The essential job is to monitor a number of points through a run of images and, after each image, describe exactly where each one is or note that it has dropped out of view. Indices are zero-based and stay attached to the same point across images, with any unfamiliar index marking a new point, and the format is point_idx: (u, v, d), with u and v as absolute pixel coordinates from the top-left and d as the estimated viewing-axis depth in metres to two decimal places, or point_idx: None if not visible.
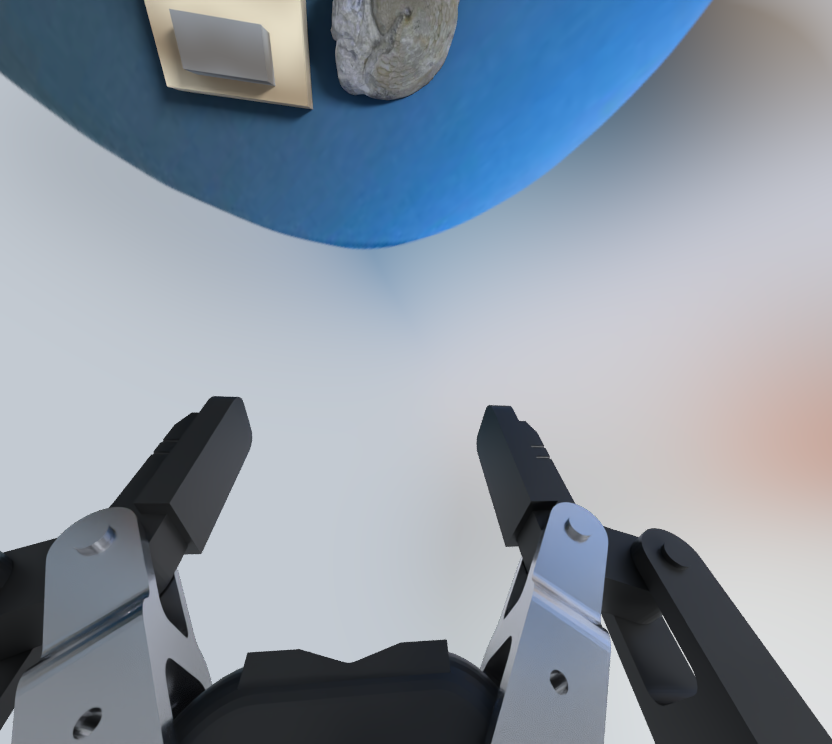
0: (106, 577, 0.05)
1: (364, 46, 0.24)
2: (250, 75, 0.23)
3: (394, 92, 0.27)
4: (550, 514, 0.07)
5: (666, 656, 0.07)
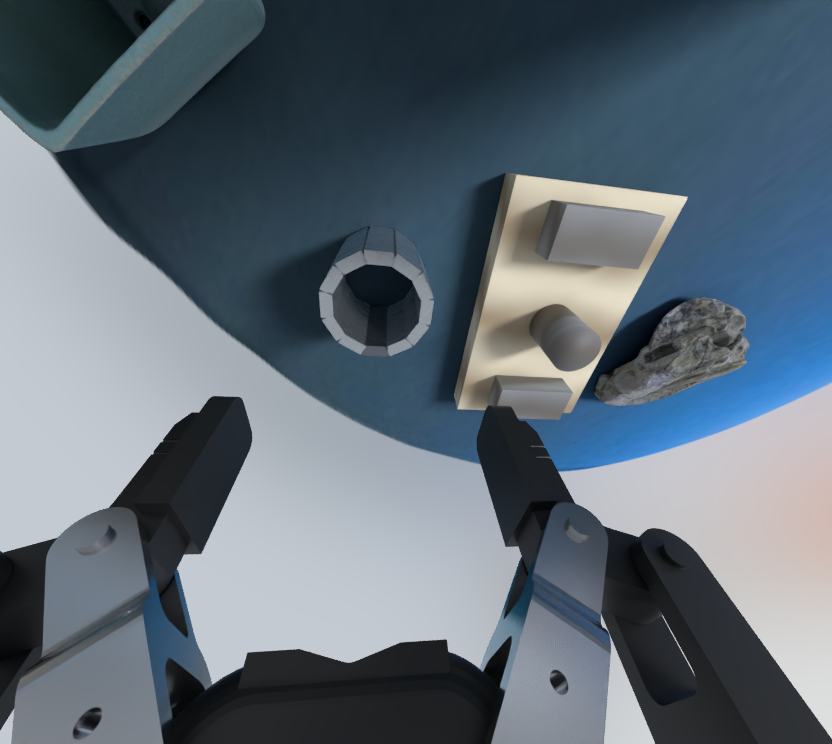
0: (106, 577, 0.05)
1: (643, 395, 0.27)
2: (546, 417, 0.26)
3: None
4: (550, 514, 0.07)
5: (666, 656, 0.07)
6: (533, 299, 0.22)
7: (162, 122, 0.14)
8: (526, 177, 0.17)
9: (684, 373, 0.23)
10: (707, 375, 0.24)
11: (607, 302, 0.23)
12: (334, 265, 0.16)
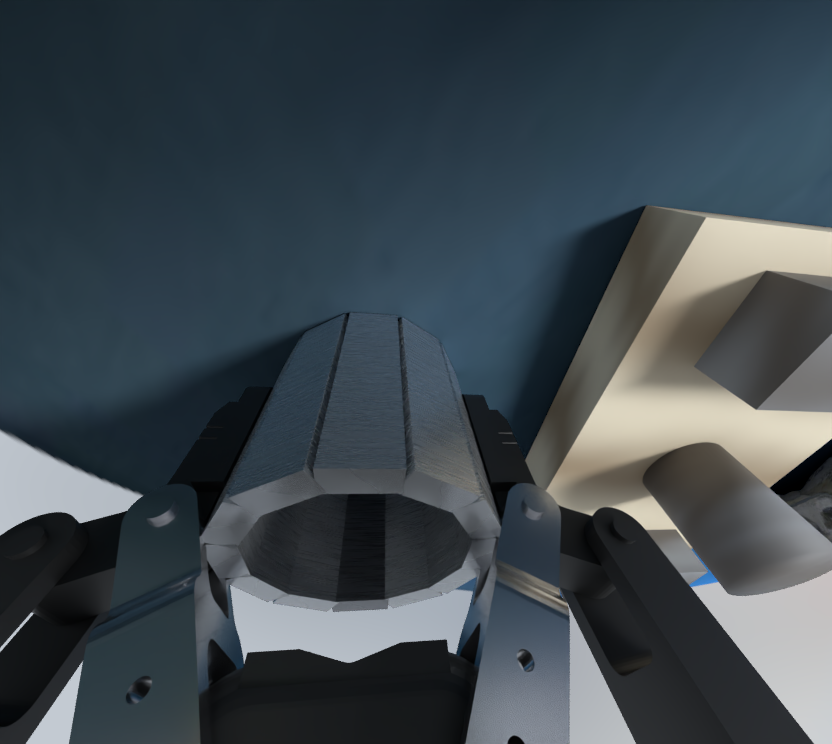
0: (177, 544, 0.06)
1: None
2: None
3: None
4: (508, 493, 0.07)
5: (623, 625, 0.07)
6: (665, 438, 0.12)
7: None
8: (727, 223, 0.07)
9: None
10: None
11: (796, 436, 0.12)
12: None
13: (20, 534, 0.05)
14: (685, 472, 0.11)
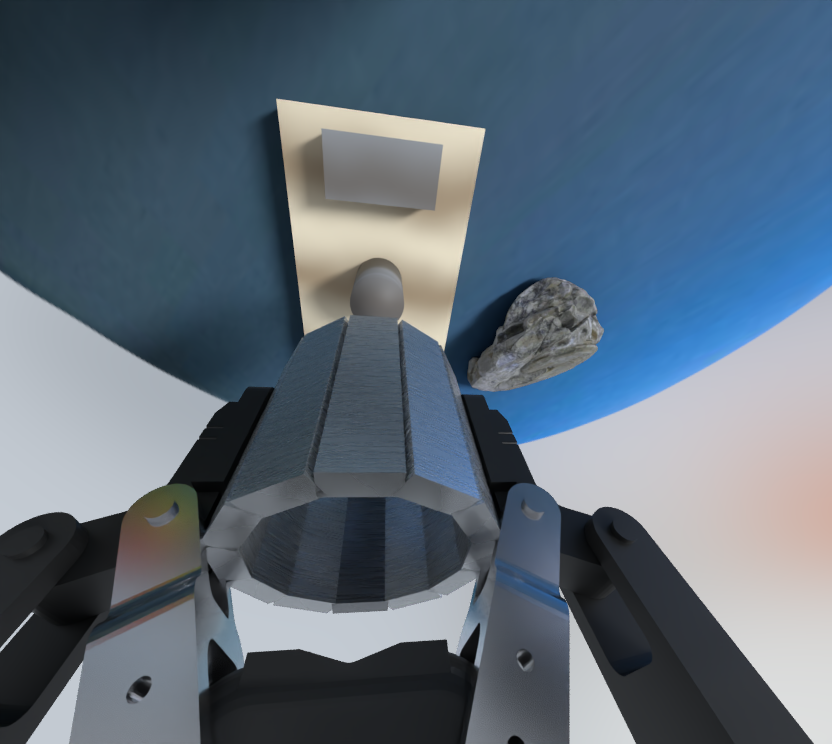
0: (177, 544, 0.06)
1: (504, 379, 0.26)
2: None
3: None
4: (508, 493, 0.07)
5: (623, 625, 0.07)
6: (349, 252, 0.20)
7: None
8: (288, 102, 0.16)
9: (527, 353, 0.22)
10: (552, 357, 0.23)
11: (435, 256, 0.21)
12: None
13: (20, 534, 0.05)
14: (359, 270, 0.20)
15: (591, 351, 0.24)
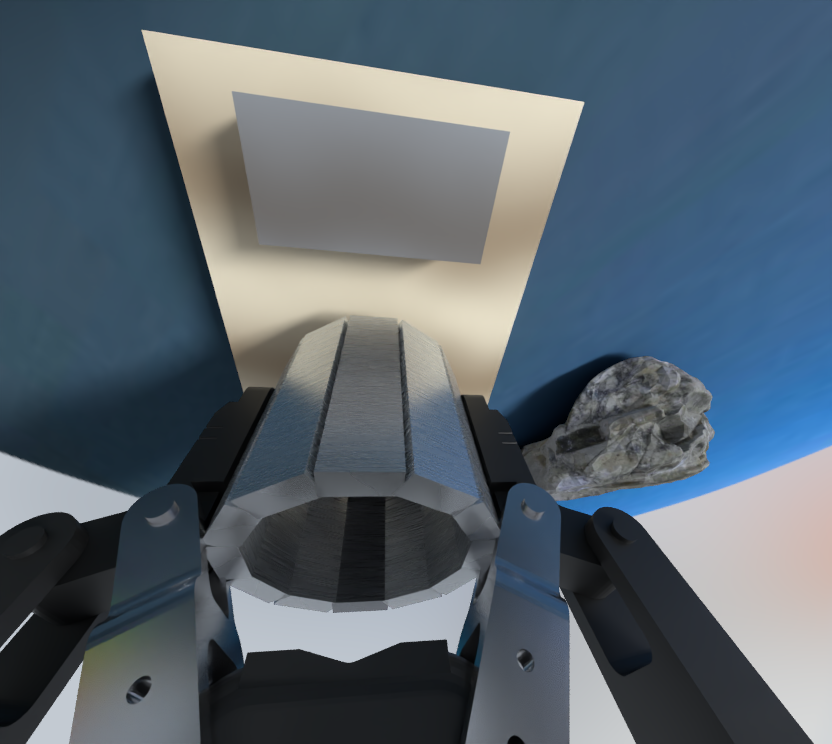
0: (177, 544, 0.06)
1: None
2: None
3: None
4: (508, 493, 0.07)
5: (623, 625, 0.07)
6: (322, 322, 0.12)
7: None
8: (170, 38, 0.07)
9: (610, 480, 0.14)
10: (647, 485, 0.15)
11: (468, 326, 0.12)
12: None
13: (20, 534, 0.05)
14: None
15: None
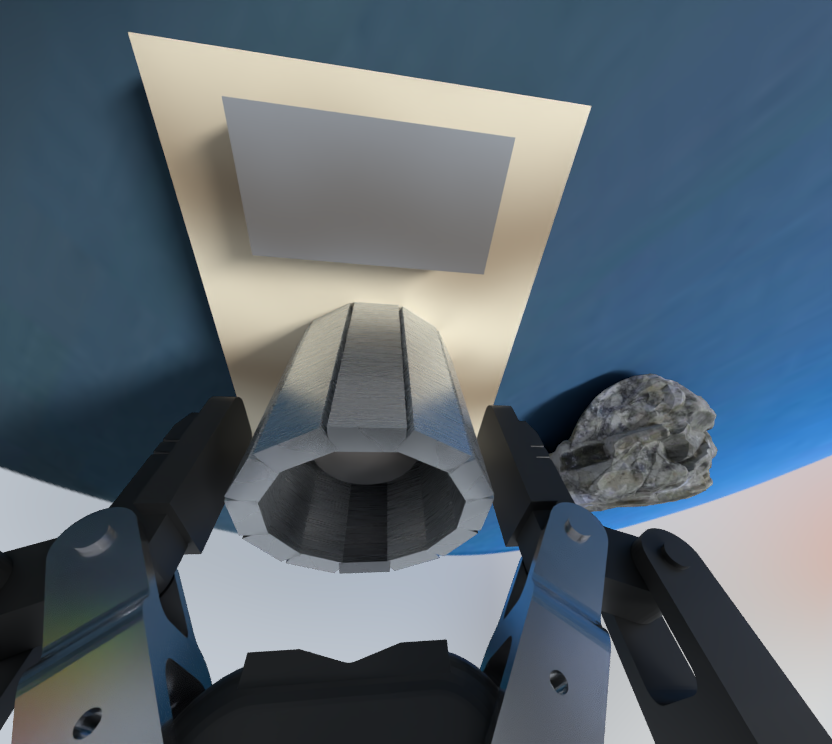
0: (106, 577, 0.05)
1: None
2: None
3: None
4: (550, 514, 0.07)
5: (666, 656, 0.07)
6: None
7: None
8: (158, 40, 0.07)
9: (615, 499, 0.14)
10: (651, 503, 0.14)
11: (470, 336, 0.12)
12: None
13: None
14: None
15: None
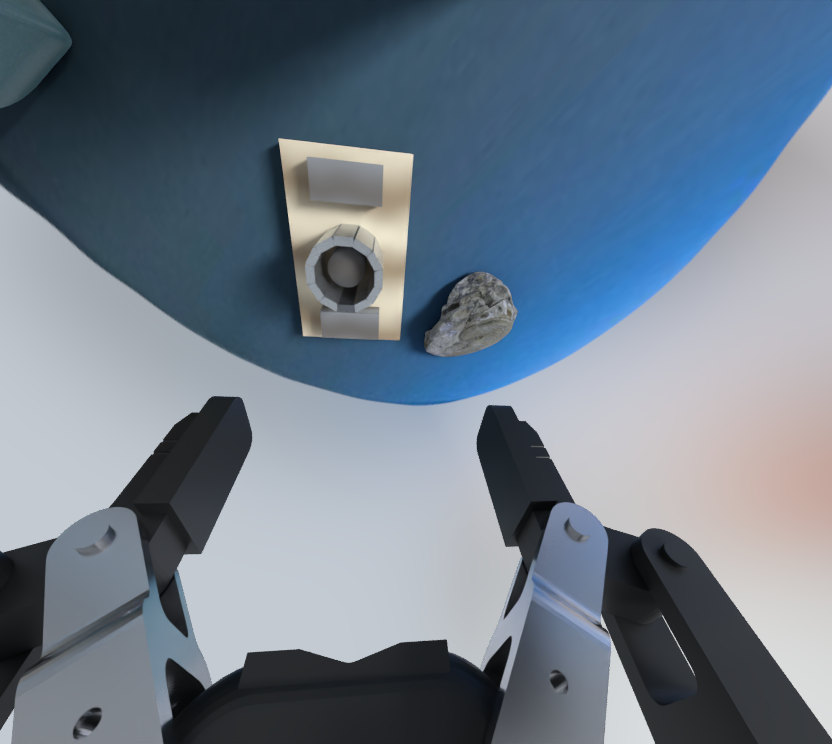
0: (106, 577, 0.05)
1: (448, 345, 0.36)
2: (367, 337, 0.33)
3: (459, 355, 0.39)
4: (550, 514, 0.07)
5: (666, 656, 0.07)
6: None
7: (7, 101, 0.21)
8: (286, 140, 0.25)
9: (460, 322, 0.32)
10: (477, 326, 0.33)
11: (388, 239, 0.30)
12: (314, 247, 0.24)
13: None
14: (335, 249, 0.29)
15: (506, 324, 0.34)
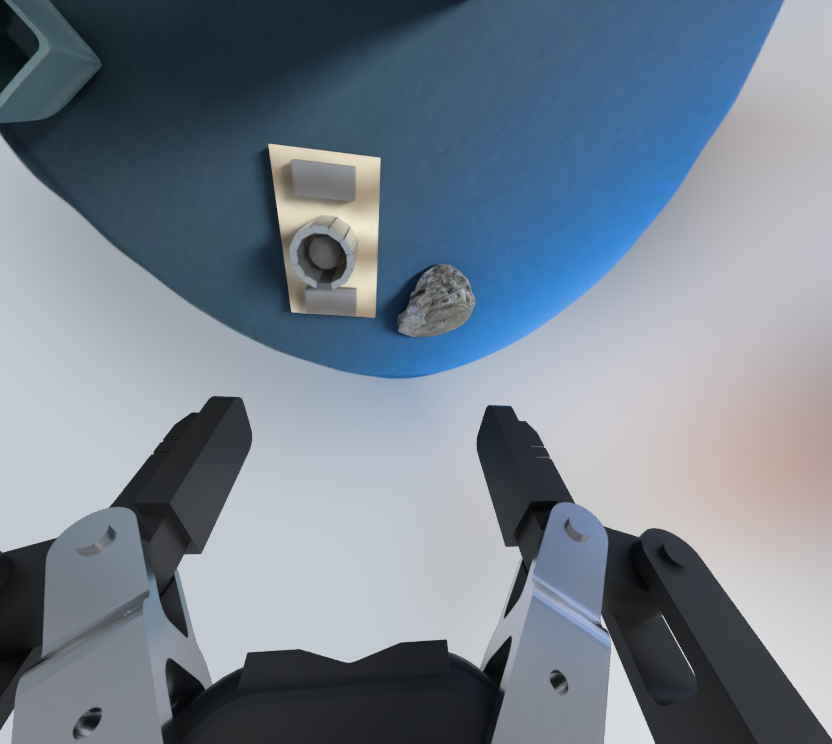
0: (106, 577, 0.05)
1: (417, 326, 0.42)
2: (345, 314, 0.39)
3: (428, 336, 0.45)
4: (550, 514, 0.07)
5: (666, 656, 0.07)
6: None
7: (50, 112, 0.27)
8: (274, 145, 0.30)
9: (424, 305, 0.38)
10: (439, 310, 0.39)
11: (362, 229, 0.35)
12: (296, 233, 0.30)
13: None
14: None
15: (464, 309, 0.40)
